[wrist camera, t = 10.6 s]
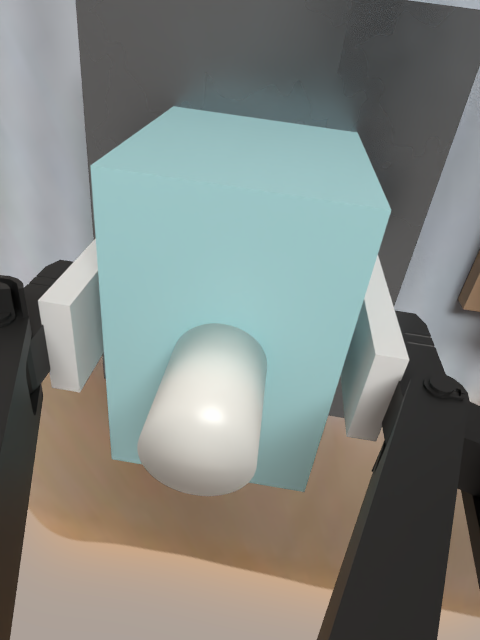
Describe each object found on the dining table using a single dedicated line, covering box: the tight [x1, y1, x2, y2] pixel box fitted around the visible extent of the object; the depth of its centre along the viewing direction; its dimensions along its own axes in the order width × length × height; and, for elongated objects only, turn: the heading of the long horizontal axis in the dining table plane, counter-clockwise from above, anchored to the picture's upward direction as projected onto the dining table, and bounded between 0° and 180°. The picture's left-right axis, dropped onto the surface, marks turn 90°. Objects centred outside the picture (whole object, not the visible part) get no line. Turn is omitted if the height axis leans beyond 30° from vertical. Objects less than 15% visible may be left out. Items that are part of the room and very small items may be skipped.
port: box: [76, 0, 480, 418], centre depth 20 cm, size 12×16×6 cm
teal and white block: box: [90, 106, 391, 496], centre depth 15 cm, size 6×9×14 cm, turn 174°
